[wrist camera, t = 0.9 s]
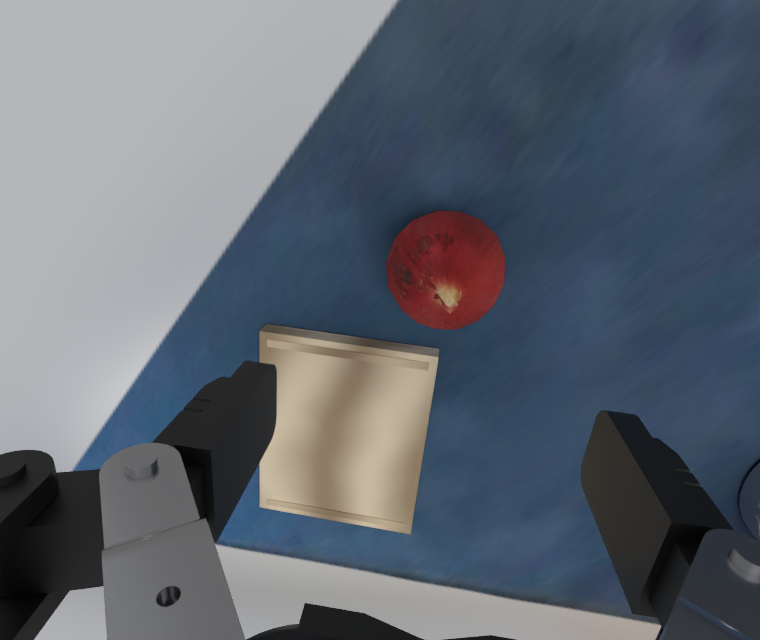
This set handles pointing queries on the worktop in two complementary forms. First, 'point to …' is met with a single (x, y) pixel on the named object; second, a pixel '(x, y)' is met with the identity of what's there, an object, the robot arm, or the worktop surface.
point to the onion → (446, 269)
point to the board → (346, 426)
